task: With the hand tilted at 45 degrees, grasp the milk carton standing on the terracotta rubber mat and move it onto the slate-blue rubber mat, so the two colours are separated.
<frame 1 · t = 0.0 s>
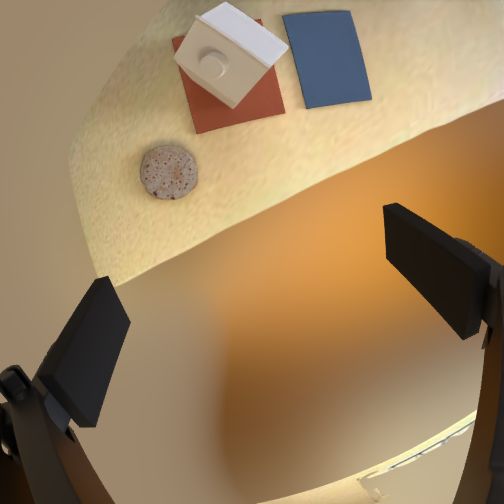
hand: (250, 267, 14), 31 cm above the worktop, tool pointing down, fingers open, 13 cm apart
slate-blue mat: (329, 56, 37), on the worktop
milk carton: (228, 73, 37), resting on terracotta mat
flatbread: (169, 172, 42), on the worktop
terracotta mat: (228, 73, 37), on the worktop
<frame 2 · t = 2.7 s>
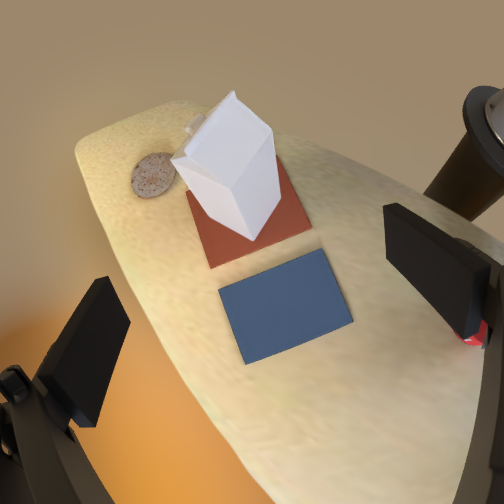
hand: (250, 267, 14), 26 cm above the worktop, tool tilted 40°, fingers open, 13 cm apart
slate-blue mat: (284, 306, 39), on the worktop
milk carton: (245, 208, 43), resting on terracotta mat
flatbread: (154, 177, 47), on the worktop
canned food: (471, 317, 35), on the worktop
terracotta mat: (245, 208, 43), on the worktop
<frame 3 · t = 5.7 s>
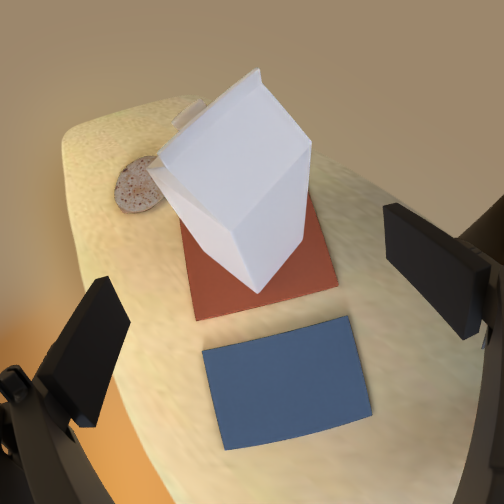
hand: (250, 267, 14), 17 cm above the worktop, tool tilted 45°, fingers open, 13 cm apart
slate-blue mat: (287, 386, 27), on the worktop
milk carton: (253, 246, 32), resting on terracotta mat
flatbread: (144, 186, 36), on the worktop
terracotta mat: (253, 247, 32), on the worktop
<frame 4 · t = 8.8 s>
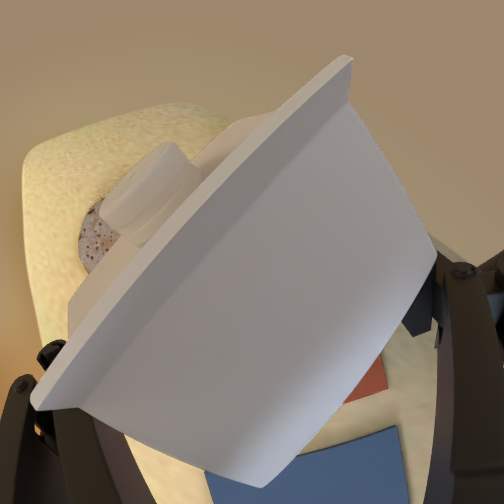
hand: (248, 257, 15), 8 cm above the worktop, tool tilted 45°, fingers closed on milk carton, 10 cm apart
milk carton: (272, 335, 22), resting on terracotta mat, touching gripper
flatbread: (116, 235, 26), on the worktop
terracotta mat: (272, 336, 22), on the worktop
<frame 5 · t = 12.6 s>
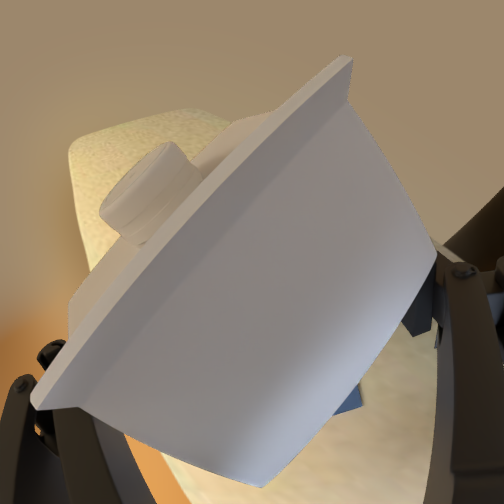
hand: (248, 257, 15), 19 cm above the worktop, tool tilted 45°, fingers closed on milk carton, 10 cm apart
slate-blue mat: (284, 379, 30), on the worktop
milk carton: (272, 335, 22), point 11 cm above the worktop, touching gripper
when the fingers open (8 cm above the worktop, at t = 16.5 s): milk carton stays where it is, resting on slate-blue mat.
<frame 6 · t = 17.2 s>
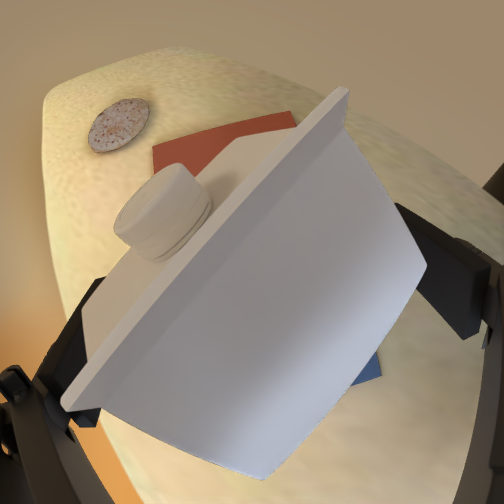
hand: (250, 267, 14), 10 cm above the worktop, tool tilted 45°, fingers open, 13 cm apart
slate-blue mat: (271, 337, 23), on the worktop
milk carton: (272, 337, 22), resting on slate-blue mat
flatbread: (119, 128, 32), on the worktop
terracotta mat: (232, 176, 27), on the worktop
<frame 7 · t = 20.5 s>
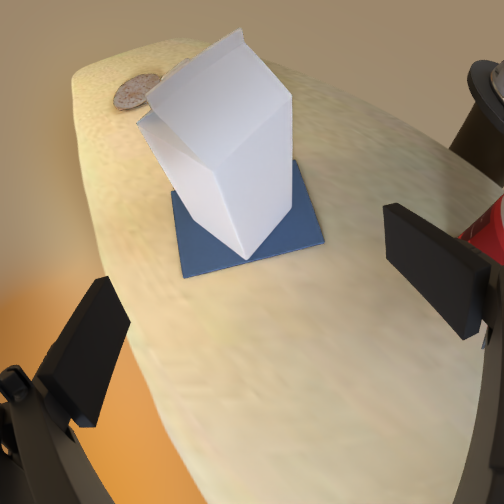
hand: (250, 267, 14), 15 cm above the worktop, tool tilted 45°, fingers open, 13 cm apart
slate-blue mat: (242, 215, 32), on the worktop
milk carton: (242, 215, 32), resting on slate-blue mat
flatbread: (137, 94, 41), on the worktop
canned food: (476, 267, 28), on the worktop
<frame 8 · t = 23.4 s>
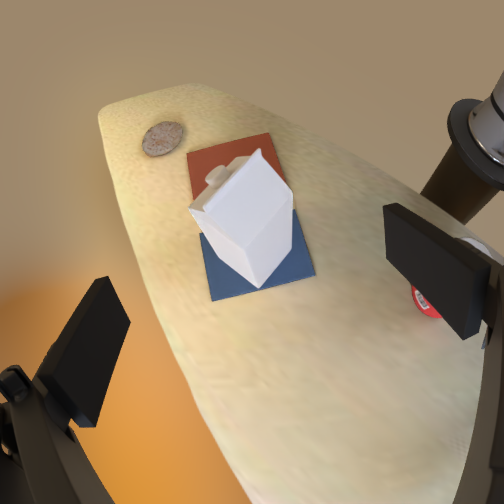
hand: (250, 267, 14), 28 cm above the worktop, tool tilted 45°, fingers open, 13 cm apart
slate-blue mat: (255, 254, 44), on the worktop
milk carton: (255, 254, 44), resting on slate-blue mat
flatbread: (162, 140, 53), on the worktop
canned food: (433, 292, 39), on the worktop
terracotta mat: (234, 171, 49), on the worktop
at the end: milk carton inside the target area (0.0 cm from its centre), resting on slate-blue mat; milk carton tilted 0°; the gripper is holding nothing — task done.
